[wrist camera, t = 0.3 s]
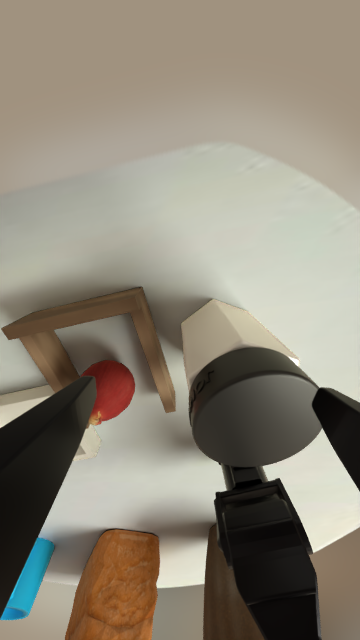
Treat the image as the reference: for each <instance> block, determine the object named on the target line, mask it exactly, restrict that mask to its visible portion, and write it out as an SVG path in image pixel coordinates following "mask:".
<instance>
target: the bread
mask: <svg viewBox="0 0 360 640" xmlns="http://www.w3.org/2000/svg"><path fill="white" fill-rule="evenodd" d="M159 567H160V554H159V540H158V537H157V536H155V535H153V534H148V533H142V532H135V531H127V530H119V529H115V530H109V531H106V532H105V533H104V534H102V535H101V536H100V538H99V540H98V542H97V544H96V546H95V548H94V550H93V552H92V554H91V556H90V558H89V560H88V562H87V564H86V567H85V569H84V571H83V573H82V576H81V579H80V582H79V584H78V587H77V590H76V593H75V599H74V604H73V609H72V613H71V617H70V621H69V624H68V628H67V632H66V635H65V640H151V638H152V623H153V614H154V610H155V605H156V600H157V596H158V595H157V587H156V582H157V579H158V576H159Z"/></svg>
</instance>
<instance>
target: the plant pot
mask: <svg viewBox="0 0 360 640" xmlns="http://www.w3.org/2000/svg"><path fill="white" fill-rule="evenodd" d="M203 640H265V639H264V637H263V636H262V634H261V632H260V630H259V628H258V626H257V625H256V623H255V621H254V619H253V617H252V615H251V614H250V612H249V610H248V608H247V606H246V604H245V603H244V601H243V599H242V597H241V595H240V594H239V592H238V589H237V586H236V582H235V577H234V572H233V569H229V568H228V565H227V562H226V559H225V557H224V554H223V552H222V551H221V550H220V549H219V547H218V543H217V524H216V525H214V526H213V527H212V528H211V529H210V531H209V537H208V546H207V556H206V569H205V587H204V625H203Z"/></svg>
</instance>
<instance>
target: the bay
mask: <svg viewBox="0 0 360 640" xmlns="http://www.w3.org/2000/svg"><path fill="white" fill-rule="evenodd" d="M129 312H130V314H131V317H132V320H133V323H134V325H135V328H136V331H137V334H138V336H139V339H140V342H141V345H142V348H143V350H144V353H145V356H146V359H147V362H148V364H149V367H150V370H151V373H152V375H153V378H154V381H155V384H156V387H157V389H158V392H159V395H160V398H161V401H162V403H163V406H164V409H165V412H166V413H169V412H174V411H176V408H175V390H174V387H173V384H172V381H171V377H170V374H169V371H168V368H167V365H166V361H165V358H164V355H163V352H162V349H161V345H160V342H159V339H158V336H157V333H156V329H155V326H154V323H153V320H152V317H151V313H150V310H149V307H148V304H147V301H146V297H145V294H144V291H143V288H142V287H139V288H134V289H130V290H126V291H122V292H118V293H113V294H109V295H105V296H101V297H96V298H92V299H88V300H84V301H80V302H75V303H71V304H67V305H63V306H58V307H54V308H50V309H46V310H42V311H37V312H33V313H31V314H29V315H27V316H25V317H23V318H21V319H19V320H17V321H15V322H13V323H11V324H9V325H7V326H5V327H3V328H1V329H2V331H3V332H4V334H5V335H6V337H7V338H8V340H12V339H16V338H19V339H20V340H21V342H22V343H23V345H24V346H25V348H26V349H27V351H28V352H29V354H30V355H31V357H32V359H33V360H34V362H35V363H36V365H37V366H38V368H39V369H40V371H41V372H42V374H43V375H44V377H45V378H46V380H47V382H48V383H49V385H50V386H51V388H52V389H53V391H54V392H55V393H56V392H58V391H60V390H61V389H63V388H64V387H66V386H67V385H69V384H71V383H72V382H74V381H75V380H77V379H78V378H80V377H79V375H78V373H77V371H76V369H75V368H74V366H73V364H72V362H71V360H70V359H69V357H68V355H67V353H66V351H65V350H64V348H63V346H62V344H61V342H60V341H59V339H58V337H57V335H56V333H55V332H54V330H55V329H59V328H64V327H68V326H72V325H77V324H81V323H85V322H90V321H94V320H98V319H103V318H107V317H112V316H116V315H120V314H125V313H129ZM89 426H90V423H89V421H88V424H87V427H86V429H88V428H89Z"/></svg>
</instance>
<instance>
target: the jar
mask: <svg viewBox="0 0 360 640" xmlns="http://www.w3.org/2000/svg"><path fill="white" fill-rule="evenodd" d="M181 330H182V340H183V355H184V357H183V359H184V367H185V373H186V379H187V384H188V389H189V418H190V425H191V427H192V434H193V437H194V440H195V442H196V444H197V446H198V447H199V449H200V450H201V451H202V452H203V453H204V454H205V455H207V456H208V457H209V458H211V459H213V460H215V461H217V462H219V463H222V464H225V465H230V466H235V467H258V466H264V465H269V464H273V463H276V462H279V461H282V460H284V459H287V458H289V457H291V456H293V455H294V454H296V453H298V452H299V451H301V450H302V449H304V448H305V447H306V446H307V445H309V444H310V443H311V442H312V441H313V440H314V439H315V437H316V436H317V435H318V434H319V432H320V431H321V429H322V426H321V424H320V422H319V420H318V418H317V416H316V414H315V412H314V410H313V408H312V401H313V399H314V397H315V394H316V392H317V390H318V389H319V387H318V386H317V385H316V384H315V383H314V382H313V381H312V380H311V379H310V378H309V377H308V376H307V375H306V374H305V373H304V372H303V371H302V370H301V369H300V368H299V366H300V359H299V358H298V357H297V356H296V355H295V354H294V353H293V352H292V351H290V350H289V349H288V348H287V347H286V346H285V345H284V344H283V343H282V342H281V341H280V340H279V339H277V338H276V337H275V336H274V335H273V334H272V333H271V332H270V331H269V330H268V329H267V328H266V327H265V326H263V325H262V324H261V323H260V322H259V321H258V320H257V319H256V318H255V317H254V316H253V315H252V314H251V313H249V312H248V311H245V310H242V309H239V308H237V307H234V306H231V305H228V304H226V303H223V302H220V301H218V300H215V299H212V300H211V301H210V302H208V303H207V304H206V305H204V306H203V307H202V308H200V309H199V310H198V311H197V312H195V313H194V314H193V315H191V316H190V317H189V318H187V319H186V320H185V321H183V322H182V323H181Z"/></svg>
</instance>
